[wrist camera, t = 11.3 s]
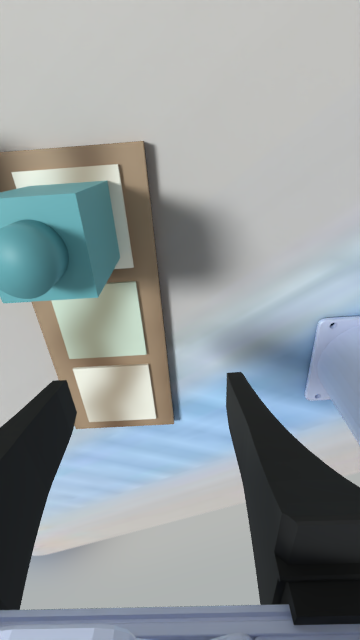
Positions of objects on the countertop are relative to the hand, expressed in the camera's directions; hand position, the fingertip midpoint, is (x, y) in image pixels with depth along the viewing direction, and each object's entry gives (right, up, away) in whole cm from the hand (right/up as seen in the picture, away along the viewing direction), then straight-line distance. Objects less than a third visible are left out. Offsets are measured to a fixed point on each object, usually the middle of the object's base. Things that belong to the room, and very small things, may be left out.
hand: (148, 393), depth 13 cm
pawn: (-5, +9, +5) cm, 11 cm away
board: (-4, +3, +9) cm, 10 cm away
